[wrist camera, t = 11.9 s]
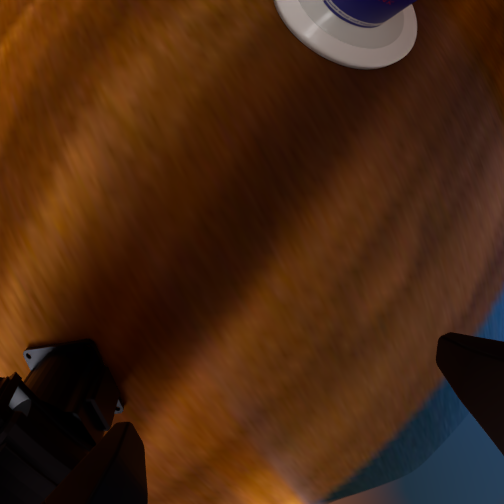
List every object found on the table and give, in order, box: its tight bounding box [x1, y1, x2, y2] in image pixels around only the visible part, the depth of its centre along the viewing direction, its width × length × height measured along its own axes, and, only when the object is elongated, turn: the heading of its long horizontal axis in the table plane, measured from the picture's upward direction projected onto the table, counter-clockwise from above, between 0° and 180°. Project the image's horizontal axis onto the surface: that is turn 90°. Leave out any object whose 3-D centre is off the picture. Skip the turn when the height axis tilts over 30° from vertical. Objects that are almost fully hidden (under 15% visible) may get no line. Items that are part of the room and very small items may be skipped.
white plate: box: [274, 0, 417, 70], centre depth 17 cm, size 11×11×1 cm
